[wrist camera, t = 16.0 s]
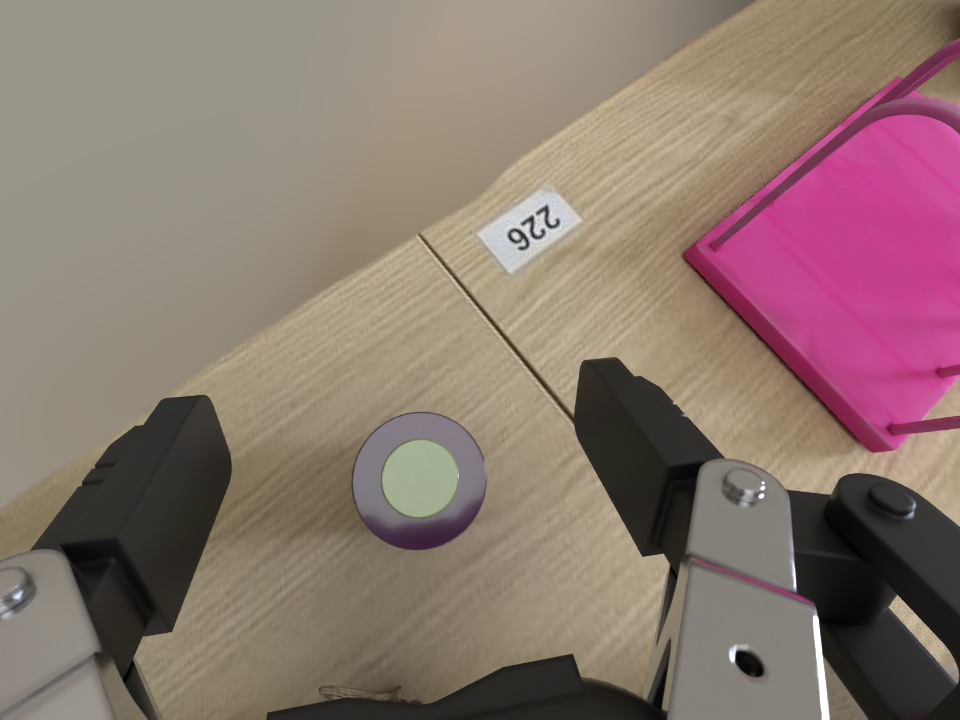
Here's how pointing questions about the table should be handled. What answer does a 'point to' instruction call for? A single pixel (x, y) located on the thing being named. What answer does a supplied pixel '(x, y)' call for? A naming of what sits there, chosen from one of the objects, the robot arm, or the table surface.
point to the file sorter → (859, 262)
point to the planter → (841, 705)
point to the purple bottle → (419, 481)
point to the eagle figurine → (363, 694)
